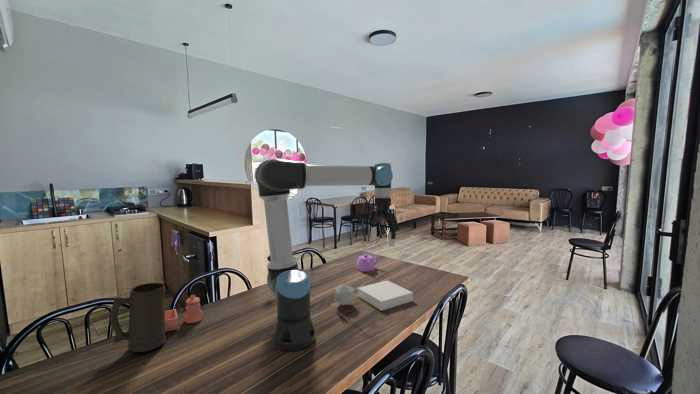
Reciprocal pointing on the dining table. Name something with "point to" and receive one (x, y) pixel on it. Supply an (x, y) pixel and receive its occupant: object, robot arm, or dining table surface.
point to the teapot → (366, 263)
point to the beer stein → (142, 317)
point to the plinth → (385, 295)
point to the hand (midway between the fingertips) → (382, 243)
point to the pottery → (190, 316)
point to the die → (344, 294)
